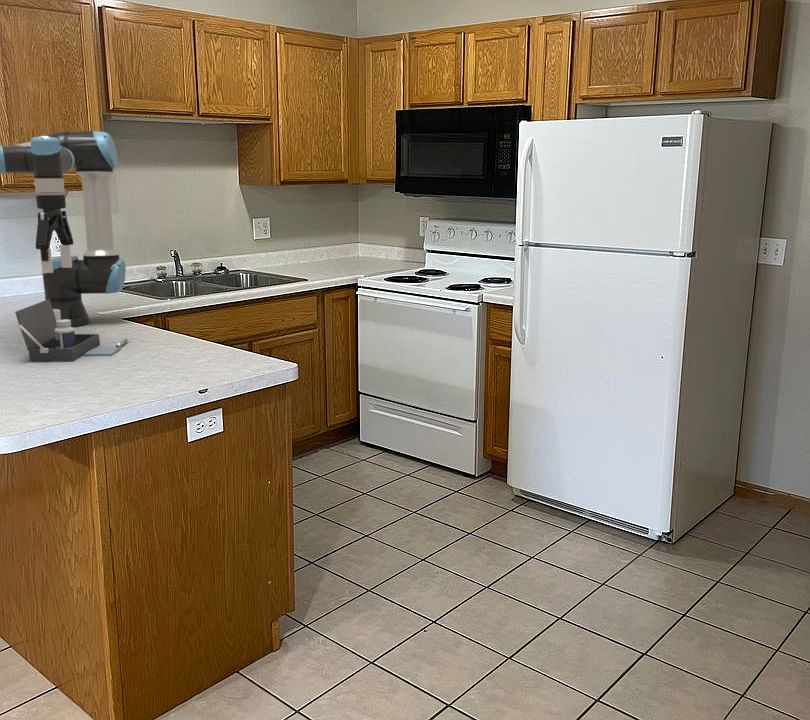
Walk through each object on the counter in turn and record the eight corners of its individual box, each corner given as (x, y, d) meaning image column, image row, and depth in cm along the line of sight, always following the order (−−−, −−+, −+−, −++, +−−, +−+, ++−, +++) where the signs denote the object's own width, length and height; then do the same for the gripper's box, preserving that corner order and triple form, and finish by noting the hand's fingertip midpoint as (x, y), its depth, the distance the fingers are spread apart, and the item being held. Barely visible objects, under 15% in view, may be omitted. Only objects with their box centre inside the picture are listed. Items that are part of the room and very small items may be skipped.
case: (52, 345, 250) (47, 299, 246) (100, 345, 250) (95, 298, 246) (19, 362, 228) (13, 311, 224) (71, 362, 228) (66, 311, 225)
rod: (124, 342, 253) (124, 339, 253) (128, 342, 253) (127, 339, 253) (115, 348, 245) (115, 344, 245) (119, 348, 245) (119, 344, 245)
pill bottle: (79, 351, 242) (76, 318, 240) (72, 355, 237) (69, 322, 234) (60, 351, 242) (57, 318, 239) (53, 355, 236) (50, 322, 234)
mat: (93, 350, 243) (93, 348, 243) (120, 349, 243) (120, 347, 243) (83, 356, 235) (83, 354, 235) (111, 355, 235) (111, 353, 235)
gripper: (54, 193, 241) (61, 265, 245) (16, 195, 216) (25, 275, 221) (80, 193, 241) (86, 265, 245) (45, 195, 216) (53, 275, 221)
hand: (57, 270), depth 233 cm, fingers open, 13 cm apart
